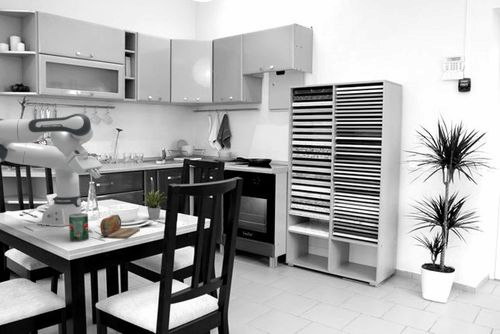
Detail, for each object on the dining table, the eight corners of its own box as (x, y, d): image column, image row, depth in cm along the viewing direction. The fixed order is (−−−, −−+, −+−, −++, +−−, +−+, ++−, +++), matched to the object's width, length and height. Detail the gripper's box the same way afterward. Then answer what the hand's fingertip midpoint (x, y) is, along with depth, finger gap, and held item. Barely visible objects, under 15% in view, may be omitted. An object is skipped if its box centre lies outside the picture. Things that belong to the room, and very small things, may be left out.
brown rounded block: (105, 238, 196) (105, 219, 195) (99, 238, 197) (98, 219, 196) (122, 230, 211) (121, 213, 210) (116, 230, 211) (115, 212, 210)
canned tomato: (92, 239, 194) (91, 215, 193) (74, 242, 188) (73, 217, 187) (84, 236, 200) (83, 212, 198) (67, 239, 194) (65, 215, 193)
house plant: (147, 223, 226) (146, 191, 224) (134, 218, 236) (133, 189, 234) (171, 218, 235) (170, 188, 234) (157, 215, 245) (156, 186, 244)
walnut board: (107, 238, 196) (107, 235, 196) (121, 230, 211) (121, 228, 211) (126, 238, 195) (126, 236, 195) (139, 230, 210) (139, 228, 209)
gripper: (84, 159, 212) (103, 179, 212) (61, 162, 192) (83, 184, 192) (93, 150, 212) (112, 170, 211) (71, 152, 191) (92, 174, 191)
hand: (98, 177), depth 201 cm, fingers closed
